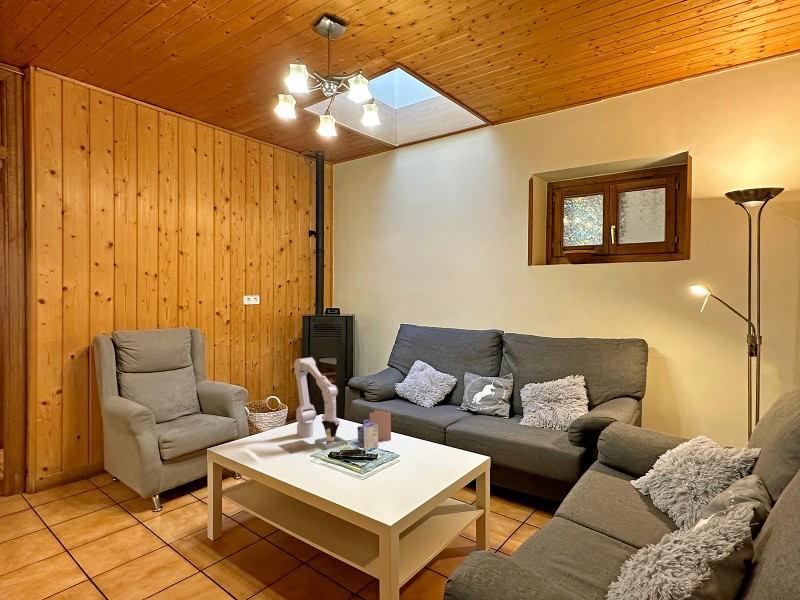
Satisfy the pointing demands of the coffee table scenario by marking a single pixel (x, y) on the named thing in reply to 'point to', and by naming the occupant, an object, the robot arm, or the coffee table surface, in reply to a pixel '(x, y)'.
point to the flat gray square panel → (297, 446)
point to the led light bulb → (329, 437)
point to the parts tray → (330, 446)
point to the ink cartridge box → (368, 435)
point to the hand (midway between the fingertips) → (330, 435)
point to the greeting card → (382, 423)
